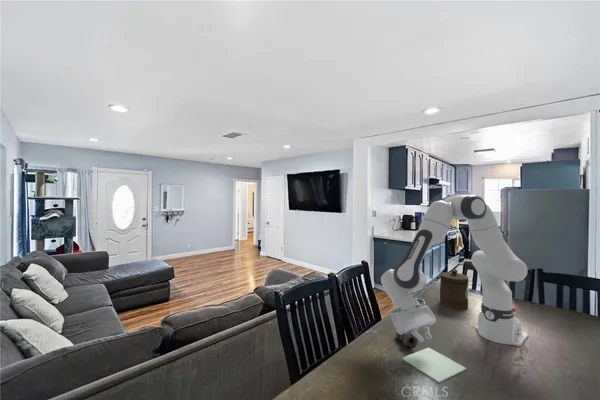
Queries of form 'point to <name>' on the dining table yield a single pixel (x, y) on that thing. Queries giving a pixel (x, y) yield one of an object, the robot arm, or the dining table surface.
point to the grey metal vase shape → (408, 339)
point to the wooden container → (454, 290)
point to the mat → (434, 364)
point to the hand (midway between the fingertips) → (426, 340)
